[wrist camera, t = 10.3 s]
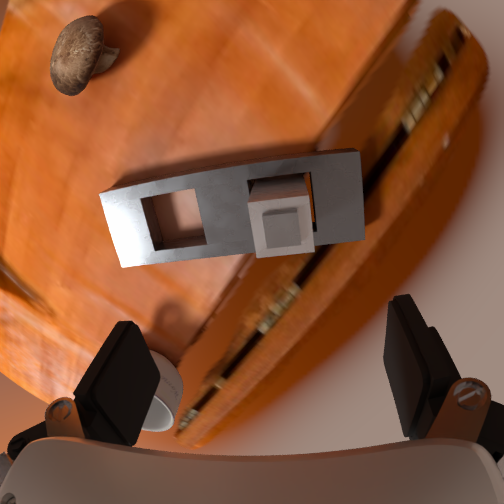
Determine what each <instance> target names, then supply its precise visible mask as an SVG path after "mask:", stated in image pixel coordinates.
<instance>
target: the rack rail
mask: <svg viewBox="0 0 504 504" xmlns="http://www.w3.org/2000/svg"><path fill="white" fill-rule="evenodd" d="M303 172H309V174H310V182H311V191H312V199H313V209H314V218H315V222H312V229H313V240H314V246H315V245H324V244H333V243H342V242H351V241H359V240H365V225H364V203H363V186H362V172H361V160H360V151H358V150H356V149H354V148H346V149H335V150H324V151H315V152H306V153H297V154H289V155H281V156H273V157H266V158H259V159H252V160H245V161H239V162H233V163H226V164H221V165H215V166H209V167H203V168H198V169H193V170H187V171H182V172H177V173H172V174H167V175H162V176H158V177H153V178H148V179H144V180H139V181H135V182H131V183H126V184H122V185H118V186H114V187H110V188H109V189H107V190H105V191H103V192H102V193H100V194H99V195H100V199H101V202H102V206H103V209H104V212H105V216H106V219H107V222H108V226H109V229H110V232H111V235H112V238H113V241H114V245H115V248H116V251H117V254H118V256H119V259H120V262H121V265H122V267H130V266H139V265H147V264H156V263H165V262H174V261H183V260H192V259H201V258H210V257H218V256H227V255H236V254H245V253H254V252H256V250H255V244H254V238H253V233H252V227H251V221H250V215H249V210H248V204H247V202H248V200H249V197H250V194H251V191H252V185H251V180H250V179H256V178H264V177H271V176H279V175H287V174H295V173H303ZM193 188H195V193H196V197H197V202H198V206H199V211H200V215H201V219H202V224H203V228H204V232H205V236H197V237H189V238H182V239H175V240H167V241H163V239H162V235H161V231H160V228H159V224H158V220H157V217H156V213H155V209H154V205H153V202H152V198H151V196H155V195H160V194H165V193H170V192H176V191H181V190H187V189H193Z"/></svg>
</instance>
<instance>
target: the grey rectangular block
mask: <svg viewBox="0 0 504 504" xmlns="http://www.w3.org/2000/svg"><path fill="white" fill-rule="evenodd" d="M309 201H310V200H309V194H308V190H307V187H306V184H305V180H304V177H303V174H302V173H295V174H287V175H279V176H271V177H264V178H256V180H255V183H254V186H253V188H252V191H251V194H250V197H249V200H248V202H247V204H248V210H249V215H250V221H251V227H252V233H253V238H254V244H255V250H256V256H257V258H261V257H271V256H279V255H289V254H299V253H308V252H315V251H314V240H313V229H312V220H311V210H310V202H309Z"/></svg>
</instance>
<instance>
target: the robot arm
mask: <svg viewBox="0 0 504 504" xmlns="http://www.w3.org/2000/svg"><path fill="white" fill-rule="evenodd" d="M383 359H384V365H385V369H386V373H387V376H388V379H389V383H390V386H391V390H392V393H393V397H394V400H395V404H396V408H397V411H398V415H399V419H400V423H401V426H402V431H403V434H404V437H409V439H410V440H409V441H402V442H396V443H389V444H383V445H377V446H371V447H363V448H356V449H348V450H339V451H331V452H320V453H309V454H295V455H271V456H226V455H203V454H189V453H178V452H167V451H158V450H150V449H142V448H136V447H132V446H133V445H135V444H136V442H137V439H138V437H139V434H140V431H141V429H142V426H143V424H144V421H145V418H146V416H147V413H148V410H149V408H150V405H151V403H152V400H153V398H154V395H155V392H156V390H157V387H158V385H159V382H160V378H161V376H160V372H159V369H158V367H157V365H156V363H155V361H154V359H153V357H152V355H151V353H150V351H149V349H148V346H147V344H146V342H145V340H144V338H143V335H142V333H141V331H140V329H139V327H138V325H136V324H135V323H134V322H133V321H119V322H117V324H116V325H115V327H114V328H113V330H112V331H111V333H110V334H109V336H108V337H107V339H106V341H105V342H104V344H103V345H102V347H101V348H100V350H99V352H98V353H97V355H96V356H95V358H94V359H93V361H92V363H91V364H90V366H89V368H88V369H87V371H86V372H85V374H84V376H83V377H82V379H81V381H80V382H79V384H78V386H77V387H76V389H75V391H74V392H73V394H74V395H75V399H74V400H72V399H71V398H68V397H62V398H58V399H56V400H55V401H53V402H52V403H51V404H50V405H49V406H48V407H47V409H46V412H45V421H43V422H41V423H39V424H37V425H35V426H33V427H31V428H29V429H27V430H25V431H23V432H21V433H19V434H17V435H16V436H14V437H13V438H12V440H11V441H10V442H9V444H8V448H7V452H8V453H5V452H3V453H2V454H0V504H504V405H502V404H500V403H497V402H495V401H492V400H491V392H490V389H489V387H488V386H487V385H486V384H485V383H484V382H483V381H481V380H479V379H477V378H461V377H460V374H459V372H458V370H457V368H456V366H455V364H454V362H453V360H452V358H451V356H450V354H449V352H448V350H447V348H446V346H445V345H444V343H443V341H442V339H441V337H440V335H439V333H438V332H437V330H436V329H435V327H433V326H432V327H428V326H427V325H426V323H425V321H424V319H423V317H422V315H421V313H420V312H419V310H418V308H417V306H416V304H415V302H414V301H413V299H412V297H411V296H410V294H405V295H399V296H394V298H393V301H389V303H388V314H387V326H386V337H385V347H384V356H383Z"/></svg>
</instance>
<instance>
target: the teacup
mask: <svg viewBox="0 0 504 504" xmlns="http://www.w3.org/2000/svg"><path fill="white" fill-rule="evenodd" d="M149 351H150V353H151V355H152V357H153V359H154V361H155V363H156V365H157V367H158V369H159V372H160V376H161V378H160V382H159V385H158V387H157V390H156V392H155V395H154V398H153V400H152V403H151V405H150V408H149V410H148V413H147V416H146V418H145V421H144V424H143V426H142V430H148V431H158V432H159V431H165V430H167V429H169V428H171V427H172V425H173V424H174V418H175V415H176V413H177V410H178V407H179V404H180V401H181V398H182V394H183V382H182V379H181V376H180V374H179V372H178V371H177V369H176V368H175V367H174V366H173V365H172V363H171V362H170V361H169V360H168V359H167V358H165V357H164V356H163V355H161V354H159V353H157V352H155V351H152V350H149Z"/></svg>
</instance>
